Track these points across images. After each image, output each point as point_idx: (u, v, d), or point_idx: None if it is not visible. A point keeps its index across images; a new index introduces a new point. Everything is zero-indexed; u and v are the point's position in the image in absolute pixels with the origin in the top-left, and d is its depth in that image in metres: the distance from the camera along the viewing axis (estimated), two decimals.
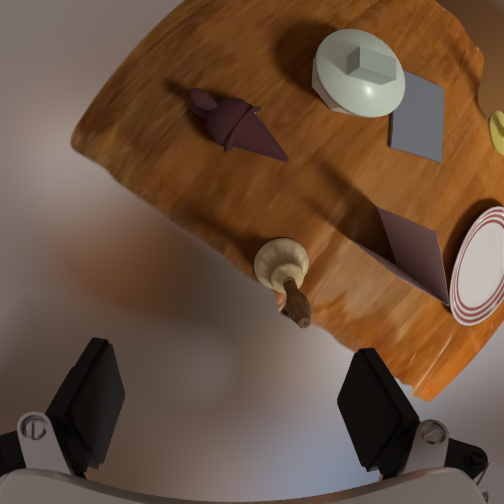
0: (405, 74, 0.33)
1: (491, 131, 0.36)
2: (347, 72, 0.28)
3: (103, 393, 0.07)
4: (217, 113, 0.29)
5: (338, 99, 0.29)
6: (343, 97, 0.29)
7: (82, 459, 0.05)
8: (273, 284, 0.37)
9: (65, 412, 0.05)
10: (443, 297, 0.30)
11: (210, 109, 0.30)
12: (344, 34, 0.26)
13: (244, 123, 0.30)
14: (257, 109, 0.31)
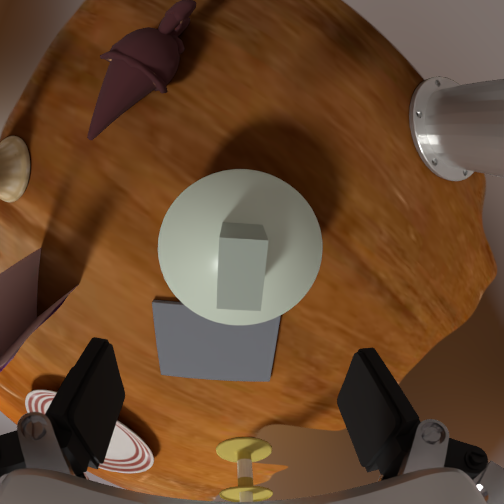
0: (273, 327, 0.30)
1: (237, 440, 0.39)
2: (229, 223, 0.21)
3: (103, 393, 0.07)
4: (147, 32, 0.16)
5: (174, 207, 0.20)
6: (180, 216, 0.20)
7: (82, 459, 0.05)
8: None
9: (65, 412, 0.05)
10: None
11: (159, 26, 0.16)
12: (306, 222, 0.21)
13: (128, 66, 0.16)
14: (158, 86, 0.19)
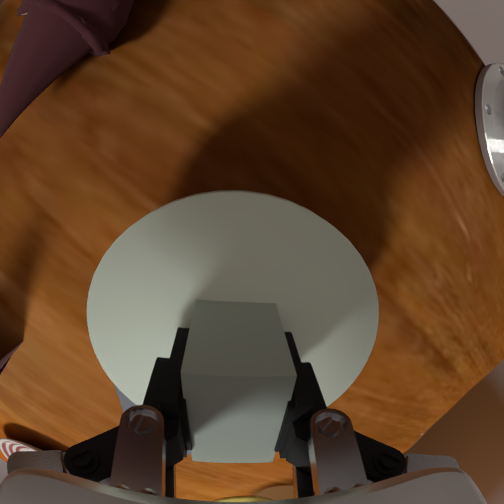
0: None
1: (235, 499, 0.28)
2: (209, 301, 0.10)
3: None
4: None
5: (104, 270, 0.10)
6: (115, 286, 0.10)
7: (182, 447, 0.07)
8: None
9: (177, 399, 0.07)
10: None
11: None
12: (356, 294, 0.11)
13: (42, 14, 0.06)
14: (88, 40, 0.08)
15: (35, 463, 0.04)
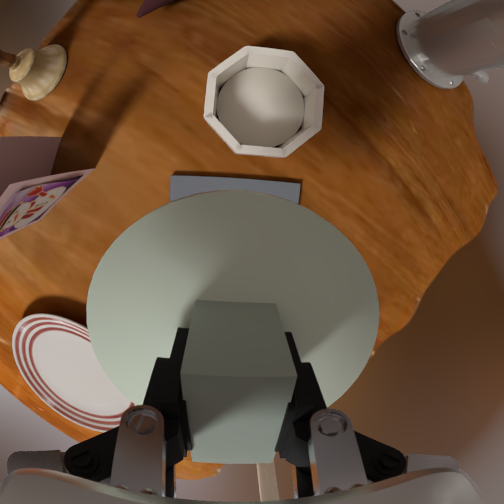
0: None
1: None
2: (209, 301, 0.10)
3: None
4: None
5: (104, 270, 0.10)
6: (115, 286, 0.10)
7: (182, 447, 0.07)
8: (19, 53, 0.17)
9: (177, 399, 0.07)
10: None
11: None
12: (357, 294, 0.11)
13: None
14: None
15: (36, 463, 0.04)
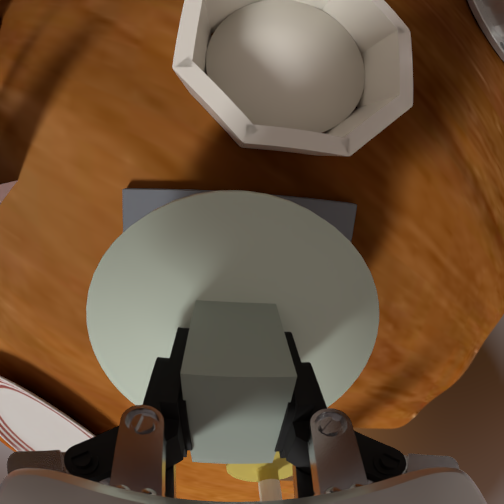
0: None
1: None
2: (208, 302, 0.10)
3: None
4: None
5: (104, 270, 0.10)
6: (115, 287, 0.10)
7: (182, 447, 0.07)
8: None
9: (177, 399, 0.07)
10: None
11: None
12: (357, 294, 0.11)
13: None
14: None
15: (36, 463, 0.04)
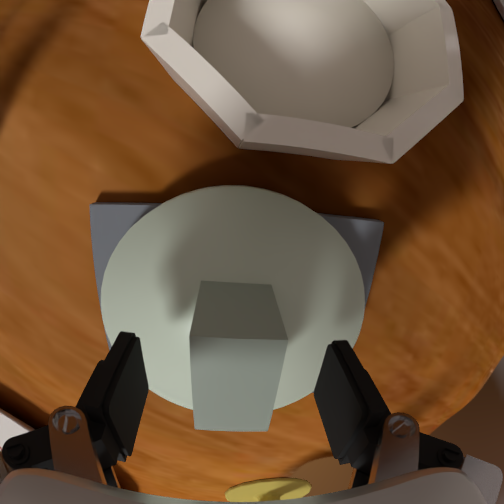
0: (365, 264, 0.13)
1: (261, 483, 0.21)
2: (212, 282, 0.12)
3: (132, 385, 0.08)
4: None
5: (119, 254, 0.11)
6: (129, 269, 0.11)
7: (113, 451, 0.06)
8: None
9: (100, 404, 0.06)
10: None
11: None
12: (344, 278, 0.12)
13: None
14: None
15: None
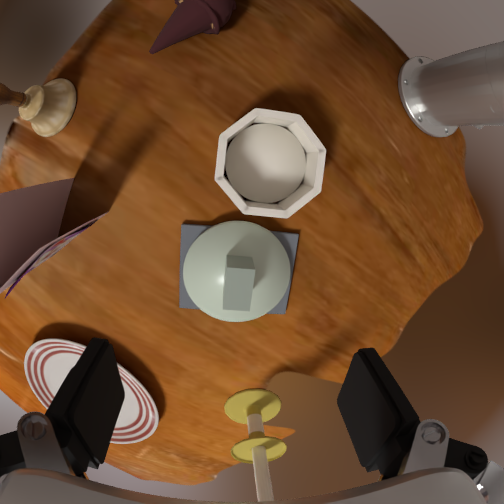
0: (291, 251, 0.34)
1: (248, 392, 0.42)
2: (230, 255, 0.33)
3: (103, 393, 0.07)
4: None
5: (195, 244, 0.32)
6: (199, 250, 0.32)
7: (82, 459, 0.05)
8: (28, 89, 0.20)
9: (65, 412, 0.05)
10: None
11: None
12: (280, 256, 0.33)
13: (197, 6, 0.20)
14: (215, 25, 0.22)
15: None
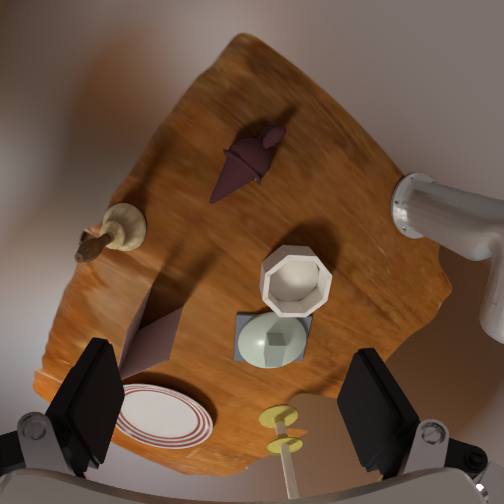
0: (306, 326, 0.52)
1: (276, 407, 0.59)
2: (268, 332, 0.50)
3: (103, 393, 0.07)
4: (258, 147, 0.36)
5: (246, 327, 0.49)
6: (249, 330, 0.50)
7: (82, 459, 0.05)
8: (106, 223, 0.38)
9: (65, 412, 0.05)
10: (120, 376, 0.37)
11: (263, 142, 0.37)
12: (300, 331, 0.51)
13: (245, 168, 0.37)
14: (258, 181, 0.39)
15: None
